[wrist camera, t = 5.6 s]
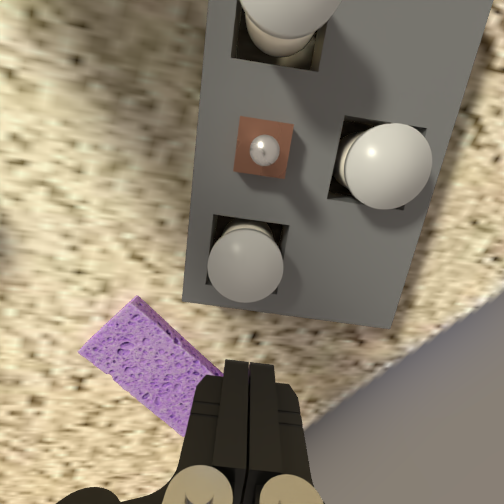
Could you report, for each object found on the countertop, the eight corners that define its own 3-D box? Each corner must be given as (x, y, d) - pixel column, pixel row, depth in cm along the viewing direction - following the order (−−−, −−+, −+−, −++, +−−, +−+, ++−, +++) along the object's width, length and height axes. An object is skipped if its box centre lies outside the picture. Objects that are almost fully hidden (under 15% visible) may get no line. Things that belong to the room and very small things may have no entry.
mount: (223, -51, 21) (216, -94, 17) (461, -10, 21) (506, -42, 18) (191, 278, 28) (181, 301, 24) (371, 303, 28) (390, 329, 24)
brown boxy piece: (241, 117, 20) (236, 111, 15) (291, 125, 20) (302, 121, 15) (234, 169, 21) (228, 178, 16) (282, 176, 21) (290, 187, 16)
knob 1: (221, 207, 25) (211, 226, 20) (282, 216, 25) (289, 237, 20) (214, 264, 27) (203, 297, 21) (272, 272, 27) (276, 307, 21)
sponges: (138, 291, 29) (131, 301, 27) (239, 383, 32) (239, 398, 30) (85, 340, 30) (74, 352, 28) (186, 423, 33) (183, 439, 31)
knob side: (334, 121, 23) (358, 116, 18) (399, 132, 24) (443, 130, 18) (320, 188, 25) (339, 203, 19) (382, 197, 25) (417, 214, 19)
